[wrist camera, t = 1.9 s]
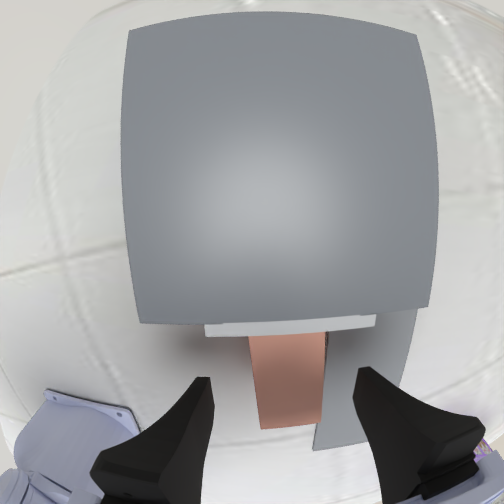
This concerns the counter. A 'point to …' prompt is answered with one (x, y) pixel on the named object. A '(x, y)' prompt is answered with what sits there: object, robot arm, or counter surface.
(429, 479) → the robot arm
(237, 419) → the counter surface
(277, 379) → the tall peach block
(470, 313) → the counter surface
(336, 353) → the pad
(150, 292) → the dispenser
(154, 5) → the counter surface
